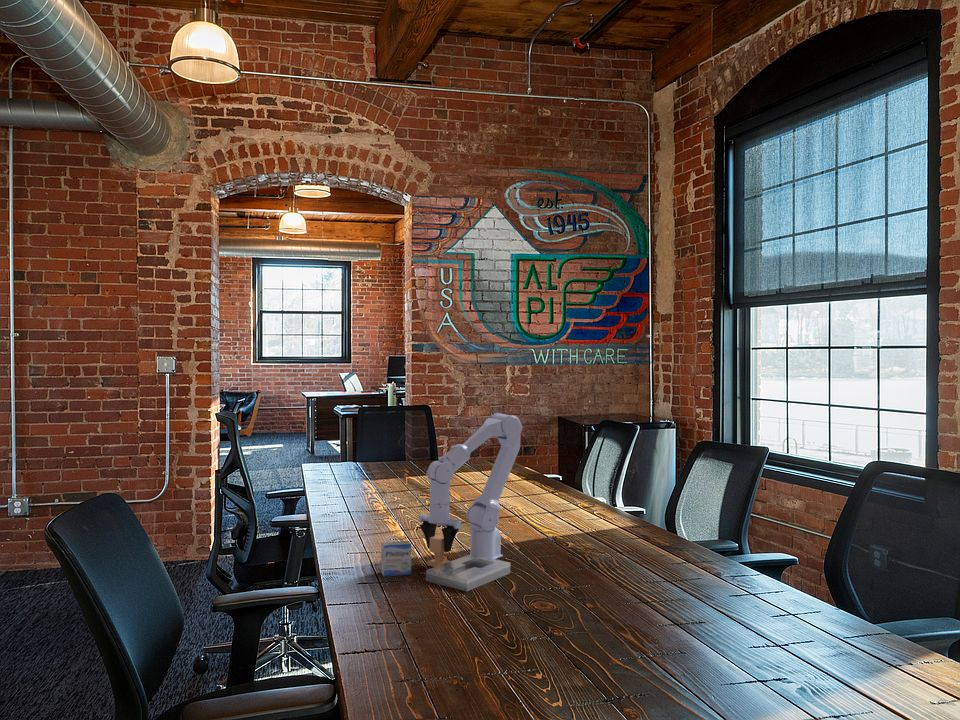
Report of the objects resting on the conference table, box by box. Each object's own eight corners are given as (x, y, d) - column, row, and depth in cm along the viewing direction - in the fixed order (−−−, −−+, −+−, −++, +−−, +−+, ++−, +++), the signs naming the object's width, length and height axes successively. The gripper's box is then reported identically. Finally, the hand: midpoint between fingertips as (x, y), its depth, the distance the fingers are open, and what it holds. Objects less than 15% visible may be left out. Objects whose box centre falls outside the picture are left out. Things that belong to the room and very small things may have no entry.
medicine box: (383, 577, 206) (383, 545, 206) (380, 572, 211) (381, 541, 211) (411, 575, 209) (411, 544, 208) (408, 570, 213) (408, 540, 213)
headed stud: (438, 561, 222) (438, 534, 222) (451, 564, 219) (451, 537, 219) (426, 565, 218) (427, 537, 218) (440, 568, 215) (440, 540, 215)
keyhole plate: (470, 564, 219) (470, 554, 219) (510, 573, 211) (510, 562, 211) (426, 581, 203) (426, 570, 203) (467, 591, 195) (467, 580, 195)
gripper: (411, 501, 219) (411, 548, 220) (450, 508, 211) (450, 556, 211) (427, 498, 225) (427, 543, 225) (465, 504, 216) (465, 551, 217)
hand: (439, 549), depth 218 cm, fingers open, 6 cm apart
